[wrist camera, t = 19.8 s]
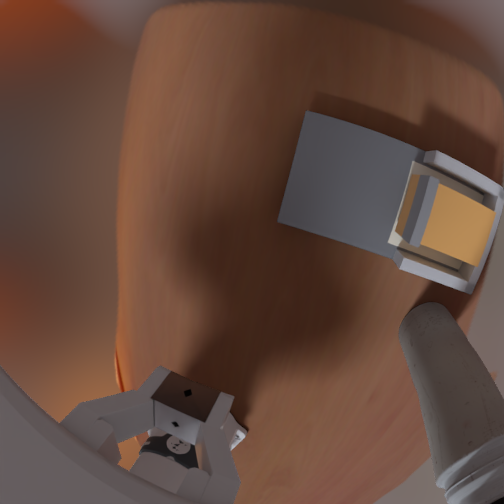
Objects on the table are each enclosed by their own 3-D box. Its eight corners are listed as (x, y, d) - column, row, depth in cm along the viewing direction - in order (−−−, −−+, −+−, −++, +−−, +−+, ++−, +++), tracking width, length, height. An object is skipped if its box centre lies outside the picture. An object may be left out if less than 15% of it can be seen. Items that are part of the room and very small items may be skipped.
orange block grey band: (464, 257, 24) (488, 276, 19) (392, 229, 26) (408, 244, 20) (480, 207, 22) (509, 217, 17) (408, 173, 24) (430, 175, 18)
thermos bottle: (419, 360, 32) (460, 537, 6) (387, 333, 32) (423, 542, 6) (458, 322, 29) (541, 487, 3) (429, 290, 29) (532, 482, 3)
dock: (451, 274, 28) (471, 294, 22) (281, 217, 31) (271, 227, 26) (481, 185, 24) (507, 190, 18) (307, 115, 27) (304, 103, 22)
